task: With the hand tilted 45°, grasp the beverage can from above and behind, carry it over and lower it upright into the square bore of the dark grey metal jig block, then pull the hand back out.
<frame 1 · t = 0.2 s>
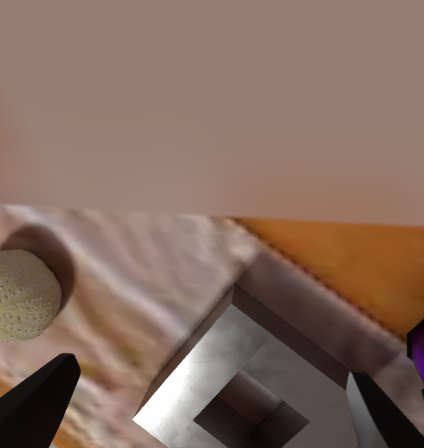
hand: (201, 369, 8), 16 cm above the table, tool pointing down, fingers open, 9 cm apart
jig block: (249, 384, 26), on the table
sea urchin shell: (32, 286, 28), on the table
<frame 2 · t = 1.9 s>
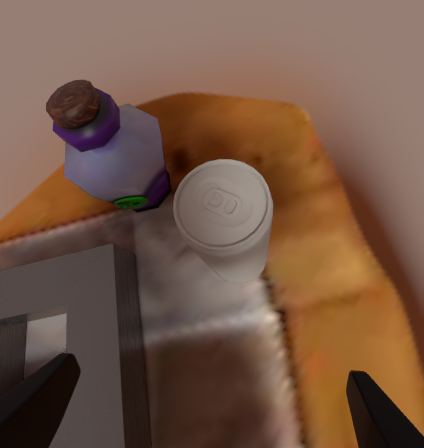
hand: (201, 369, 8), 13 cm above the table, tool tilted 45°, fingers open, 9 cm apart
beverage can: (238, 257, 23), on the table
potion bottle: (146, 188, 27), on the table
jig block: (60, 355, 23), on the table
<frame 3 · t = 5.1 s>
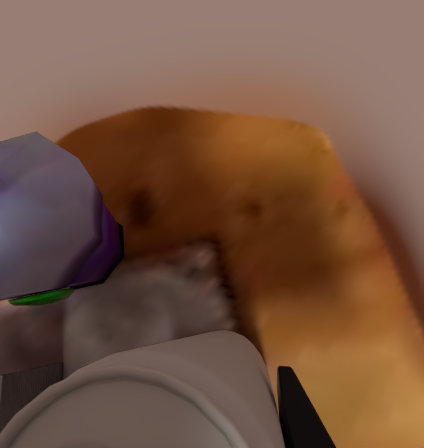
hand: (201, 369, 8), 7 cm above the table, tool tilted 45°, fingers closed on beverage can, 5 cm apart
beverage can: (225, 377, 14), on the table, touching gripper
potion bottle: (89, 249, 18), on the table
when the fingers open (8 cm above the table, at t = 9.9 s): beverage can drops 1 cm, resting in jig block.
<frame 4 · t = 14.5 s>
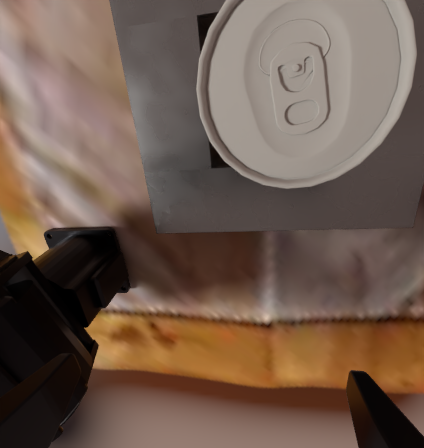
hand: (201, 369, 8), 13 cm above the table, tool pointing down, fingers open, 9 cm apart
beverage can: (268, 96, 17), resting in jig block
jig block: (270, 94, 16), on the table
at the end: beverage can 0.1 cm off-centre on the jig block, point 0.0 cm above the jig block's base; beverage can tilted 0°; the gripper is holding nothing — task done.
